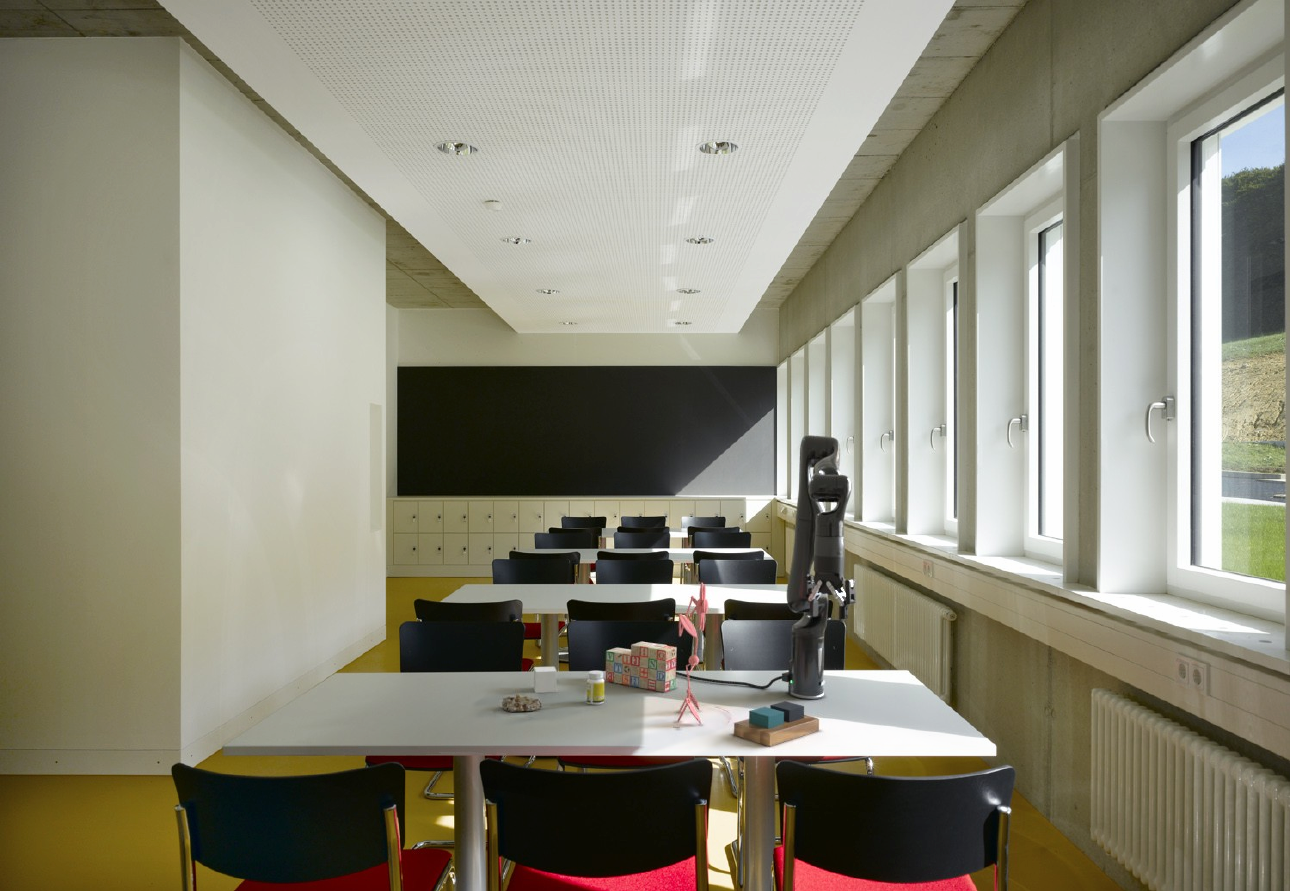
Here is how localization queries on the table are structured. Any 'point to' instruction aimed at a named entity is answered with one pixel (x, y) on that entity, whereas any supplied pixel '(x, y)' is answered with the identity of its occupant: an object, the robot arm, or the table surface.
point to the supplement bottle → (595, 688)
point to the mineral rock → (520, 703)
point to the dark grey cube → (789, 710)
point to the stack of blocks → (643, 666)
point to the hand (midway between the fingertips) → (828, 618)
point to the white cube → (544, 679)
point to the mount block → (776, 730)
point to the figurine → (693, 660)
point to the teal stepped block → (766, 717)
